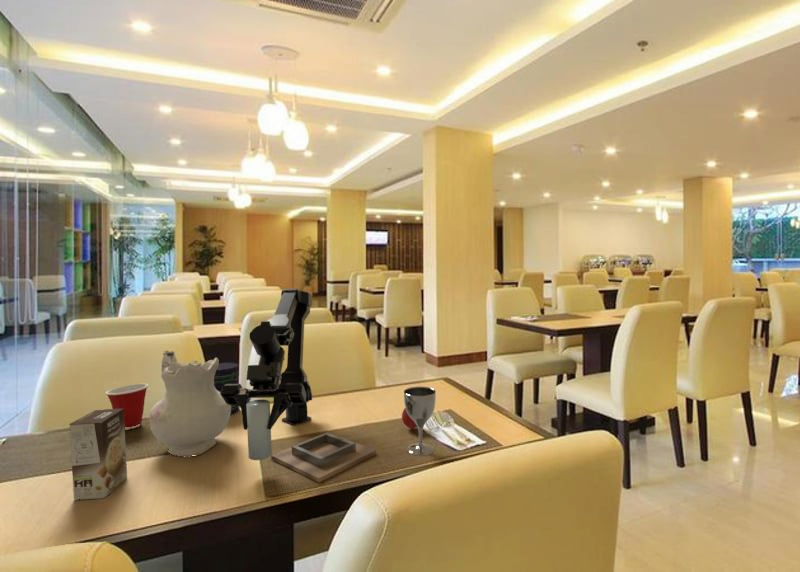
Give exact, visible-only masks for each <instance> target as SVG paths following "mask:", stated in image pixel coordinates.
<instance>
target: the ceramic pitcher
mask: <svg viewBox="0 0 800 572" xmlns="http://www.w3.org/2000/svg"><path fill="white" fill-rule="evenodd" d="M162 355H163V356H162V359H161V374H160V376H161V379H162V380H163V382H164V387H165V389H166V390H165V394H164V396H163V397H162V398H161V399H159V400H158V401H157V402H156V403H155V405H153V406H152V408H151V409H150V411H149V417H148V418H149V421H148V422H149V428H150V430H151V432H152V434H153V436H154V437H155V438H156V440H158V441H159V442H160V443H162V444H163V445H166V446H168V447H169V448H170V449H169V448H168V449H169V453H170V454H169V453H168V454H169V455H171V454H172V455H171V456H176V455H177V457H180V456H185V457H187V458H190V457H189V456H192V455H196V457H198V456H197V455H199V454H201V455H203V454H204V453H206V452H207V451H208V450H210V449H211V448H213V447H214V446H215V445H217V440H216V437H218V436H220V435H221V434H222V433H223V431H224V430H225V429H226V427H227V425H228V424H229V422H230V418H231V415H230V414H231V405H228V404H227V403H226V402H225V400H224V399H223V398H222V396H221V395H220V392H219V391H218V390H216V388H215V386H214V375H215V372H216V370H217V368H218V365H219V363H220V362H219V361H220V360H219V358H218V357H214V359H210V360H208V361H206V362H204V363H202V362H198V360H193V361H190V362H188V363H187V362H185V363H181V362H179V361H178V358H177V357H176V355H175V351H173V350H171V351H170V350H164V351H163V353H162ZM202 453H203V454H202ZM199 456H200V455H199ZM185 457H184V458H185Z"/></svg>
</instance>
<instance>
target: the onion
mask: <svg viewBox="0 0 800 572" xmlns="http://www.w3.org/2000/svg"><path fill="white" fill-rule="evenodd" d="M401 420H402V422H403V424H404V425H405V426H406V427H407V428H409V429H410V430H415V429H416V428H417V425H416V424H415V422H414V421H413V420H412V419H411V418H410V417H409V415H408V414H407V411H406V408H405V407H404V408H403V411H402V413H401Z"/></svg>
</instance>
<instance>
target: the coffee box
mask: <svg viewBox="0 0 800 572" xmlns="http://www.w3.org/2000/svg"><path fill="white" fill-rule="evenodd" d="M69 440H70V453H71V467H72V468H71V470H72V472H71V473H72V487H73V488H72V490H73V500H74V499H75V500H74V501H80V500H95V499H97V500H98V499H105V498H106V497H107V496H108V495H109V494H111V493H112V492H113V491H114V490H116V488H117V487H118V486H120V485H121V484H122V483H123V482H124V481H125V480H126V479H127V478H128V469H127V468H128V467H127V465H128V464H127V450H126V445H127V444H126V433H125V426H124V409H113V408H107V409H95V410H93V411H91V412H89V413H88V414H85V415H84V416H82V417H80V418H78V419H76V420H74V421H72V422H70V423H69ZM121 482H122V483H121ZM120 483H121V484H120ZM79 499H80V500H79Z"/></svg>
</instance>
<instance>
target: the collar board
mask: <svg viewBox="0 0 800 572" xmlns="http://www.w3.org/2000/svg"><path fill="white" fill-rule="evenodd" d="M375 455H377V449H374V448H372V447H368V446H365V445H363V444H360V443H358V442H356V441H352V440H350V439H347V438H344V437H341V436H339V435H335V434H333V433H330V432H323V434H319V435H317V436H314V437H312V438H309V439H307V440H305V441H302V442H300V443H296V444H294V445H292V446H291V447H288V448H286V449H284V450H281V451H279V452H277V453H274V454H272V455H271V456H270V458H271V461H274V462H276V463H278V464H280V465H282V466H284V467H286V468H288V469H291V470H292V471H295V472H296V473H298V474H300V475H302V476H304V477H306V478H309V479H310V480H313V481H314V482H317V483H321V482H323V481H325V480H327V479H329V478H331V477H333V476H335V475H337V474H339V473H340V472H343V471H345V470H347V469H349V468H351V467H353V466H356V465H357V464H359V463H361V462H363V461H366V460H367V459H369V458H371V457H373V456H375Z"/></svg>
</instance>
